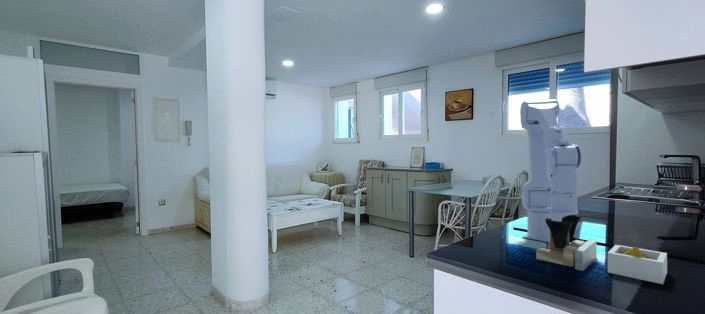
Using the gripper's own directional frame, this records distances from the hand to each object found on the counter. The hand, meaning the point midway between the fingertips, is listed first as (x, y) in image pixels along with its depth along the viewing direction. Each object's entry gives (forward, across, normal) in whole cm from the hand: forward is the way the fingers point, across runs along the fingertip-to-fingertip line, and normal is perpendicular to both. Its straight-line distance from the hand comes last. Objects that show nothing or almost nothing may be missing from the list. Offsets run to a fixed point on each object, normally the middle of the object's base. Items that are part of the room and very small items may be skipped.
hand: (563, 244), depth 81 cm
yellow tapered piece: (+4, 0, +14) cm, 15 cm away
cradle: (+4, 0, -1) cm, 4 cm away
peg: (+4, 0, -1) cm, 4 cm away
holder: (+4, 0, +14) cm, 14 cm away
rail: (+4, 0, +5) cm, 6 cm away
